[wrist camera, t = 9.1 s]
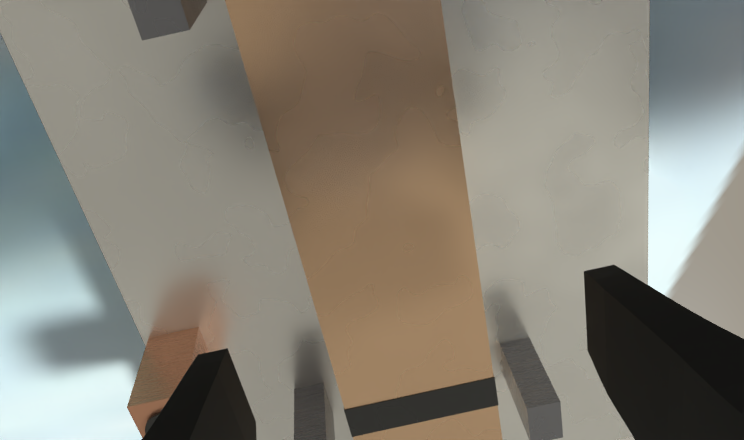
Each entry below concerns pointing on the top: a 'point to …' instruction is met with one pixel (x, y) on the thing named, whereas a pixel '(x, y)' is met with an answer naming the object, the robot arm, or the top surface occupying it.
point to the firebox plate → (270, 219)
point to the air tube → (377, 206)
